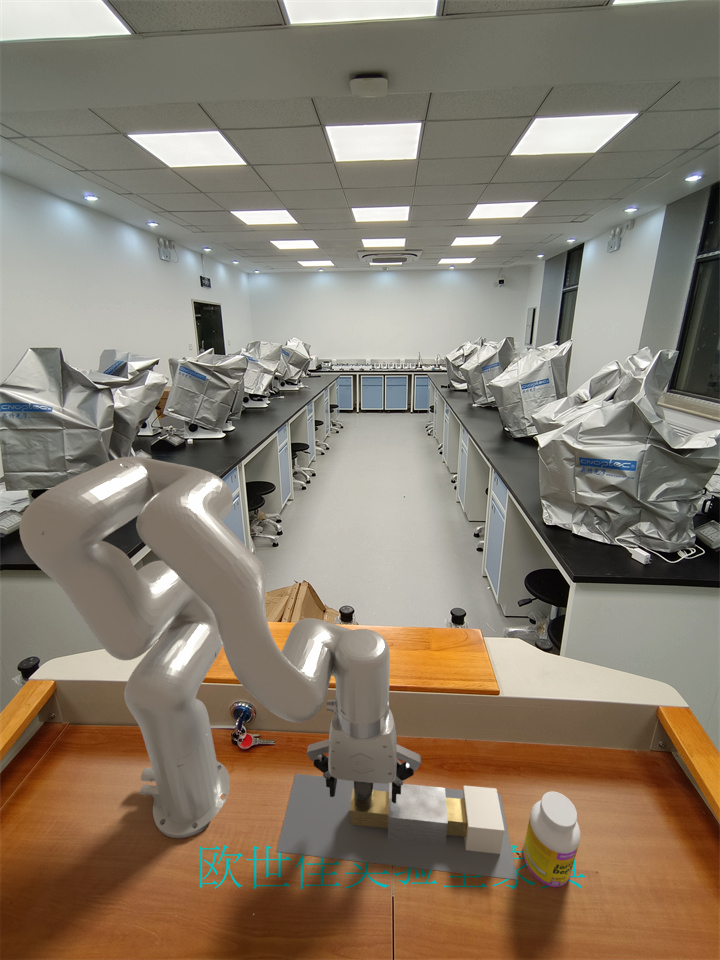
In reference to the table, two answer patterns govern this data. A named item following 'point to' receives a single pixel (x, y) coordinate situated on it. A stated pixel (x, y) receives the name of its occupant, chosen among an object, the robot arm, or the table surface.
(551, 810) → the supplement bottle
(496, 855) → the base board
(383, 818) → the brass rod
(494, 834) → the cream rectangular block
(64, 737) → the table surface
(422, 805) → the sleeve
